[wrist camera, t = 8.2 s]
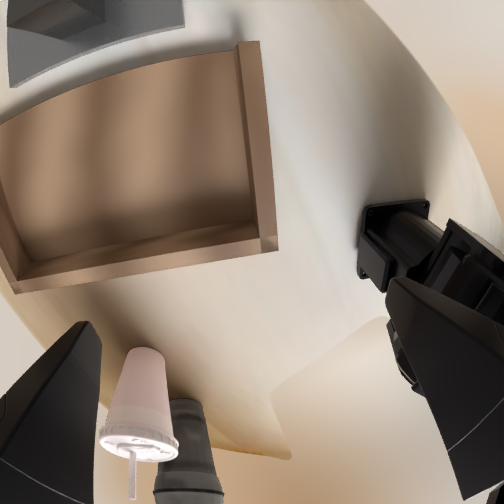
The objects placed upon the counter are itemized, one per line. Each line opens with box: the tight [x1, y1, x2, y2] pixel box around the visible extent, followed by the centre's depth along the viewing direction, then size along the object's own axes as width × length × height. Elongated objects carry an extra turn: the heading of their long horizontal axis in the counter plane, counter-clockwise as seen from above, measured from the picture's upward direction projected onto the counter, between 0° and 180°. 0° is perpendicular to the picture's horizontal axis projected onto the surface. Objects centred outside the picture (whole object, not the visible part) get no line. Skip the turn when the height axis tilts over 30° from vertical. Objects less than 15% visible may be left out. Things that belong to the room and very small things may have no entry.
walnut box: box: [0, 41, 279, 294], centre depth 14 cm, size 19×12×4 cm, turn 96°
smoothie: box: [99, 347, 179, 500], centre depth 19 cm, size 6×6×14 cm
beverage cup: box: [153, 399, 224, 504], centre depth 22 cm, size 7×7×20 cm
